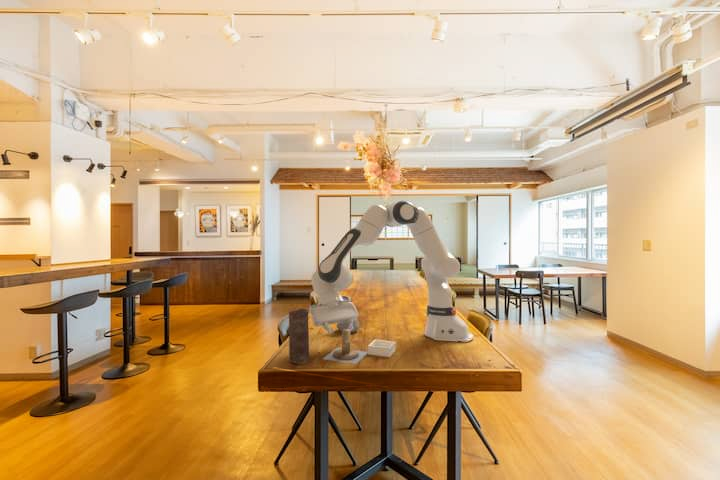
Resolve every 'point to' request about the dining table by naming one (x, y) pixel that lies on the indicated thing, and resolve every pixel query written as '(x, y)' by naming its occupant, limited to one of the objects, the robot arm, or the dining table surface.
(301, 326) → the candle
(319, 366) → the dining table surface
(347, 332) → the lid
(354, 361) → the mat
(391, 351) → the dish
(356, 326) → the coffee pot
